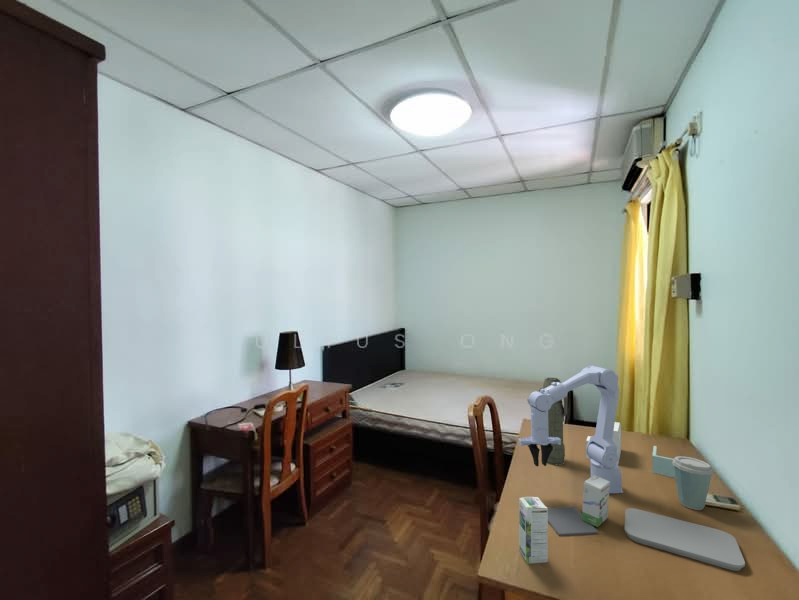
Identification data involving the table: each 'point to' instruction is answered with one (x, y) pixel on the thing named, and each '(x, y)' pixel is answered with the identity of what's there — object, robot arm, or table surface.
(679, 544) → the tablet
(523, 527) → the syrup box
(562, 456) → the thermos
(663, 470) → the l-shaped corner panel
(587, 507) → the ink box
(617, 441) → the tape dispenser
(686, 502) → the disposable coffee cup
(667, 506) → the table surface
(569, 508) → the mat
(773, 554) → the table surface
